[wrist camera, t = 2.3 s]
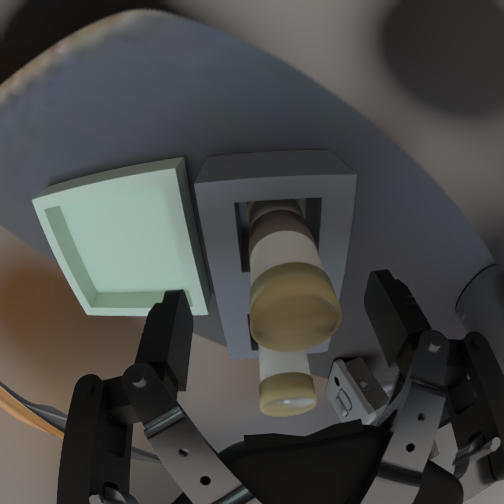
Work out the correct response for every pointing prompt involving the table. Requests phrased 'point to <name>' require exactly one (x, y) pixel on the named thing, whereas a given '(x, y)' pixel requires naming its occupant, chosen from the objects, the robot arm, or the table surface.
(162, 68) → the table surface
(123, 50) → the table surface
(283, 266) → the fuse
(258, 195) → the holder block
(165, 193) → the parts tray
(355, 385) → the electrical switch
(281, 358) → the fuse
